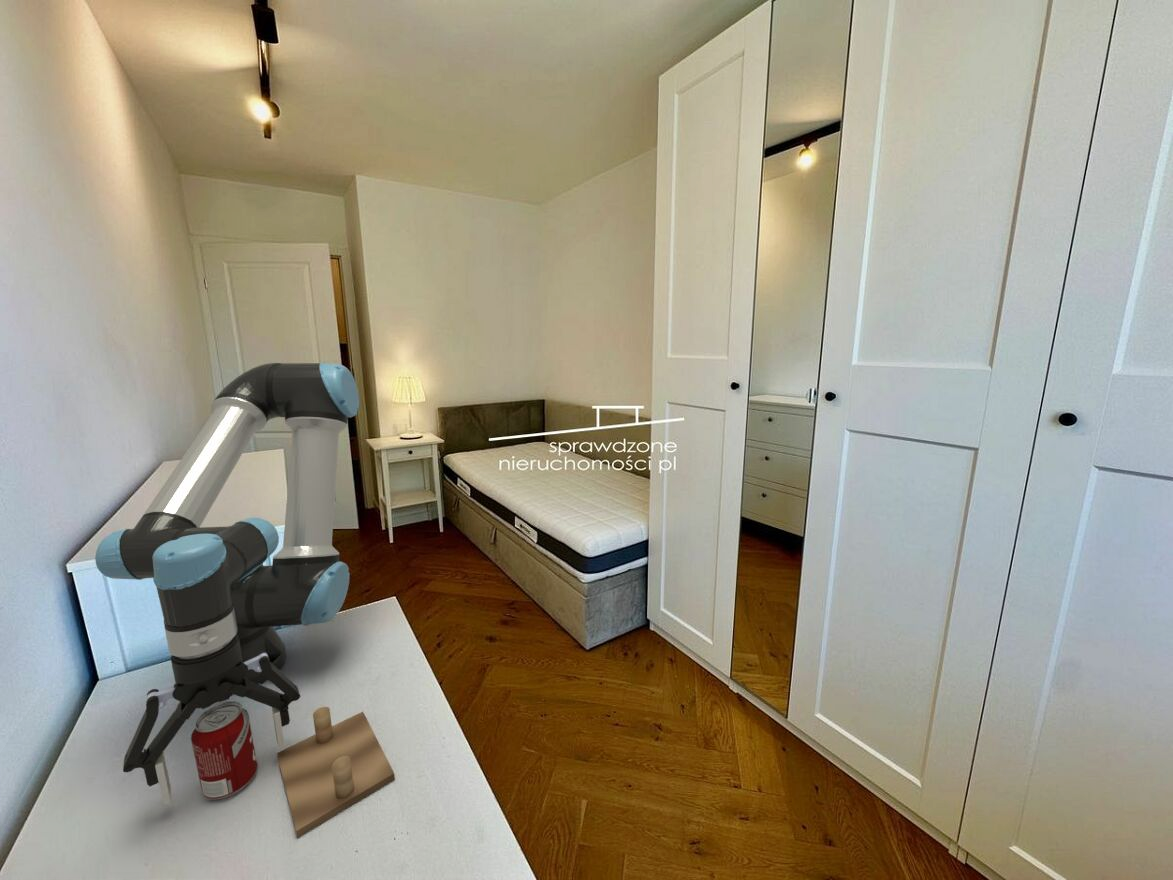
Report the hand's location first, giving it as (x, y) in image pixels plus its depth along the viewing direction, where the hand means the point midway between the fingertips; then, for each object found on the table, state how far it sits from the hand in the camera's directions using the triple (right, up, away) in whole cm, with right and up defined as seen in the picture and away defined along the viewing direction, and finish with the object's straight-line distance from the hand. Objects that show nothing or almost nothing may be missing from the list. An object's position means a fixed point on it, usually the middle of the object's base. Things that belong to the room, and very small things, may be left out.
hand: (227, 768), depth 69 cm
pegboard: (+15, -2, +3) cm, 15 cm away
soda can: (0, -3, +1) cm, 3 cm away
